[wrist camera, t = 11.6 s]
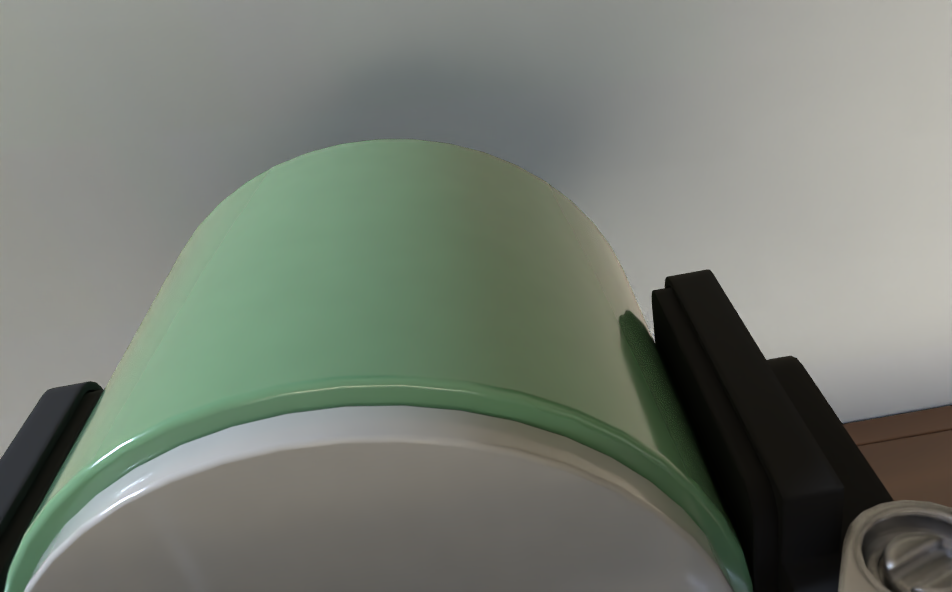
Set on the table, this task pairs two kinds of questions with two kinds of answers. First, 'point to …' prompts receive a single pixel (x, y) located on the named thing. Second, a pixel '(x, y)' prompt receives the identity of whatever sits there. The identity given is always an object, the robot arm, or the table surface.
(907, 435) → the box
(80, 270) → the table surface
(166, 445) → the pot
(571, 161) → the table surface
